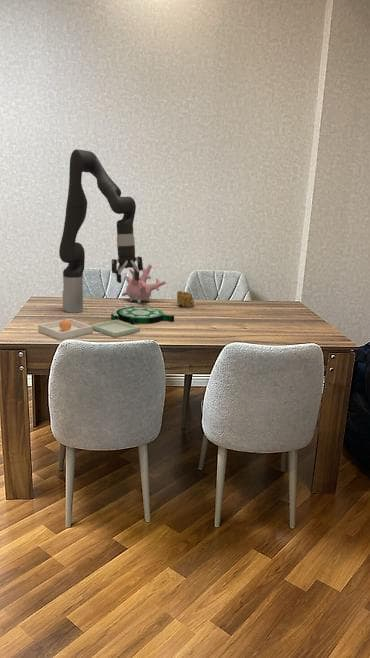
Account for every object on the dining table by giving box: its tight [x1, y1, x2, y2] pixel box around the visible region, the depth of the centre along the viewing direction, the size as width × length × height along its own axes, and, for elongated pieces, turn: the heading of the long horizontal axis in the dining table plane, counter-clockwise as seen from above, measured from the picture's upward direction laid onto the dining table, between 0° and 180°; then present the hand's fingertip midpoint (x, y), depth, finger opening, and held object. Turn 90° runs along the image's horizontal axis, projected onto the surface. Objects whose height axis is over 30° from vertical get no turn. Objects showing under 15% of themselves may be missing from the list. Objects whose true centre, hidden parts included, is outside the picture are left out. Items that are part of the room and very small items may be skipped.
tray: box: [90, 319, 141, 338], centre depth 212 cm, size 16×14×2 cm
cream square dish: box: [37, 318, 94, 341], centre depth 206 cm, size 16×16×3 cm
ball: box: [59, 318, 72, 331], centre depth 205 cm, size 5×5×5 cm
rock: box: [176, 290, 195, 308], centre depth 263 cm, size 12×9×10 cm
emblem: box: [110, 305, 175, 325], centre depth 233 cm, size 25×3×30 cm
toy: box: [121, 264, 167, 304], centre depth 264 cm, size 18×21×20 cm
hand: (128, 281), depth 216 cm, fingers open, 8 cm apart
